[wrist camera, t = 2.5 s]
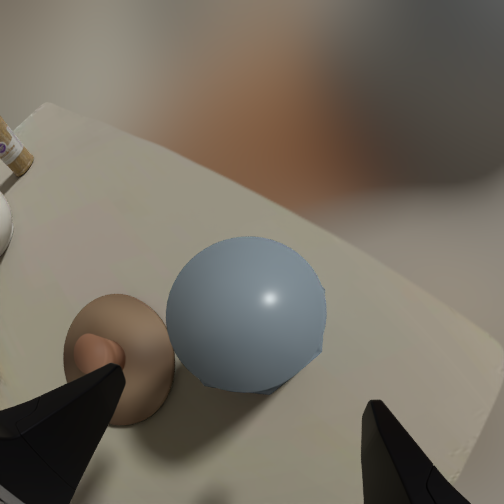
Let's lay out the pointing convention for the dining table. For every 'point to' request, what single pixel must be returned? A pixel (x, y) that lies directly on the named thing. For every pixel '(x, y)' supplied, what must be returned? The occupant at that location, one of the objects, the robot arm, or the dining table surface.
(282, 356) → the blue dome cap nut
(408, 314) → the dining table surface
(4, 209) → the lidded jar
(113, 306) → the brown pegged disc
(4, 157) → the sprinkles bottle
